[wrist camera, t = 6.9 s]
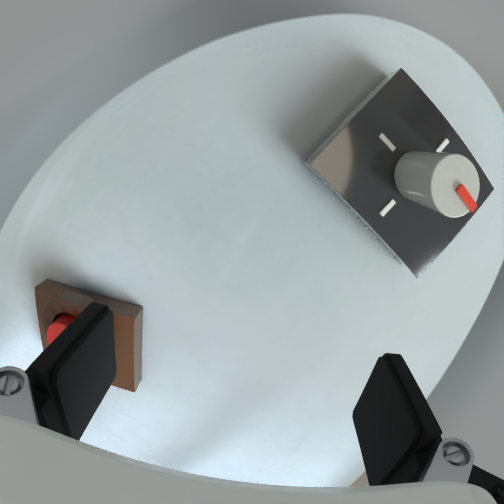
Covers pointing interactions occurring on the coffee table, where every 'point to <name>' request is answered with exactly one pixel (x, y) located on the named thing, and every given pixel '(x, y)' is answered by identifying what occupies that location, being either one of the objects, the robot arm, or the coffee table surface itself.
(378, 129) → the hob panel
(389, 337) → the coffee table surface
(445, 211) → the hob knob
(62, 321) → the power button
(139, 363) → the power block
